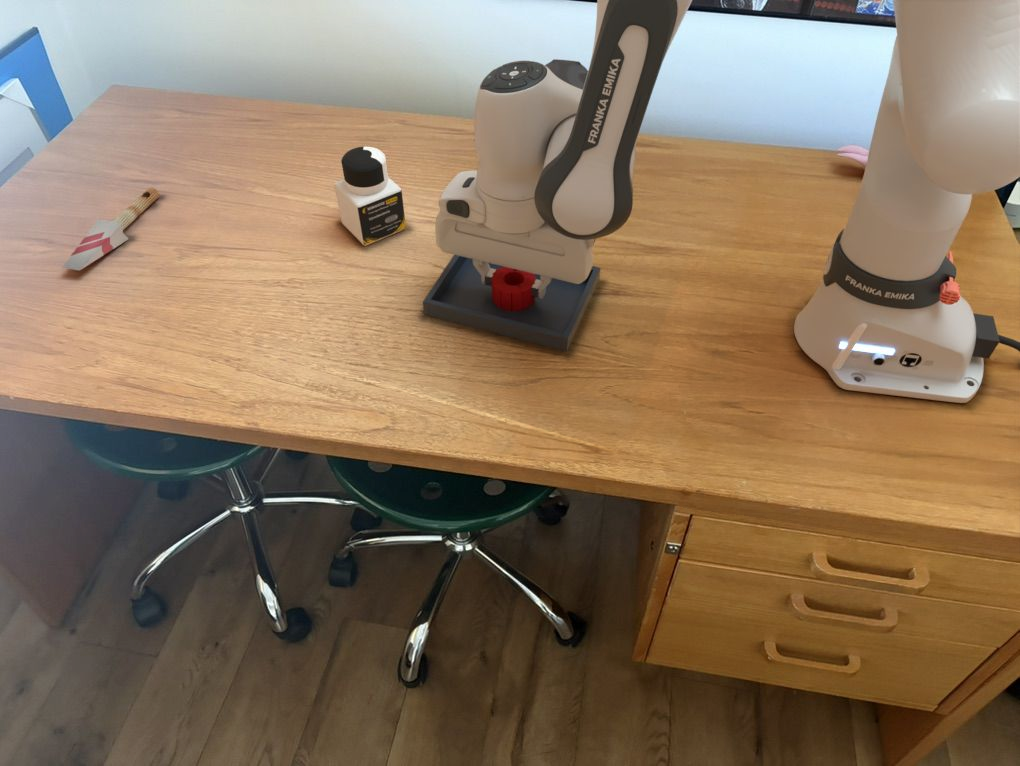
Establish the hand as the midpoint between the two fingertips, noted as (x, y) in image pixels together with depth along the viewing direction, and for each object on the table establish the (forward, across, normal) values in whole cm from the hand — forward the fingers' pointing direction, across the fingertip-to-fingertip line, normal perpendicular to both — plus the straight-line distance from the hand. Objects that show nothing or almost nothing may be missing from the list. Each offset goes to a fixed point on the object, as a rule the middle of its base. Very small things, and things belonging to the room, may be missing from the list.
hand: (513, 288), depth 105 cm
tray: (+2, 0, 0) cm, 2 cm away
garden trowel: (+2, +59, +7) cm, 59 cm away
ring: (+2, 0, 0) cm, 2 cm away
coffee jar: (+2, +3, -28) cm, 28 cm away
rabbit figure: (+2, -45, -48) cm, 65 cm away
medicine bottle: (+2, +25, -8) cm, 26 cm away
